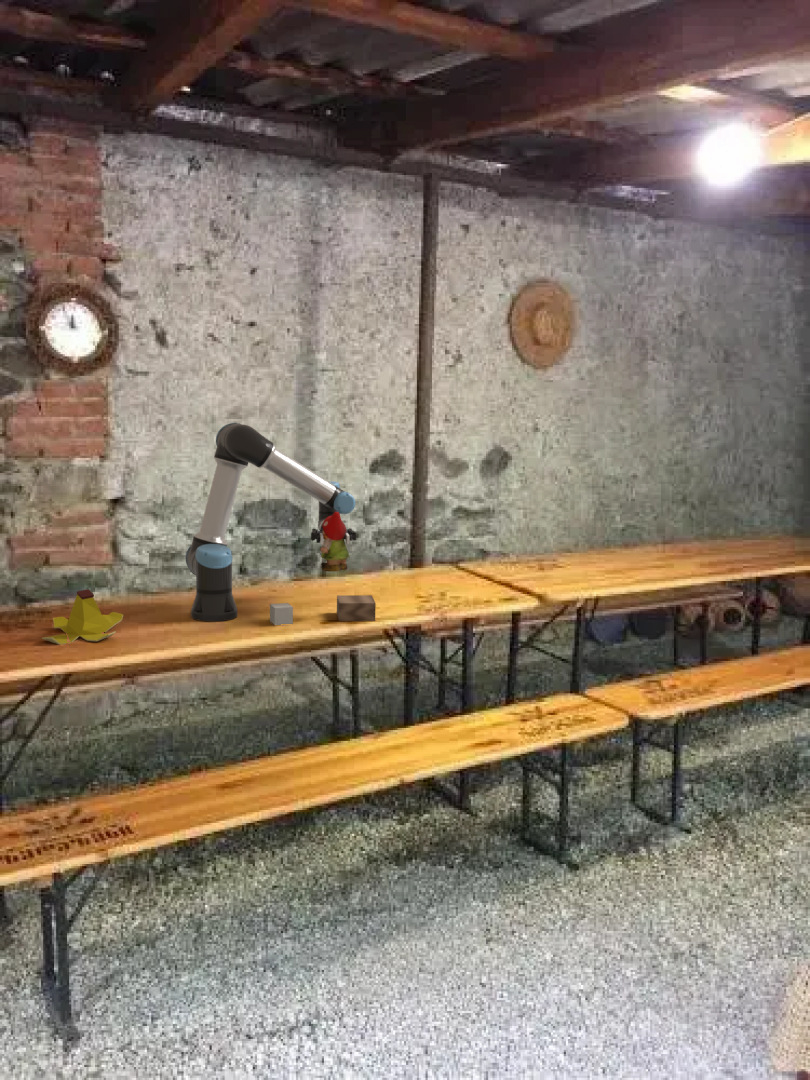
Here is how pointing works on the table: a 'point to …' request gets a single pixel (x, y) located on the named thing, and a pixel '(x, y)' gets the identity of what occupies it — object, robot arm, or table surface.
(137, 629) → the table surface
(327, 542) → the figurine
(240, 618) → the table surface
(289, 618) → the grey cube
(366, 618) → the pedestal
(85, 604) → the banana peel
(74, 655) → the table surface
